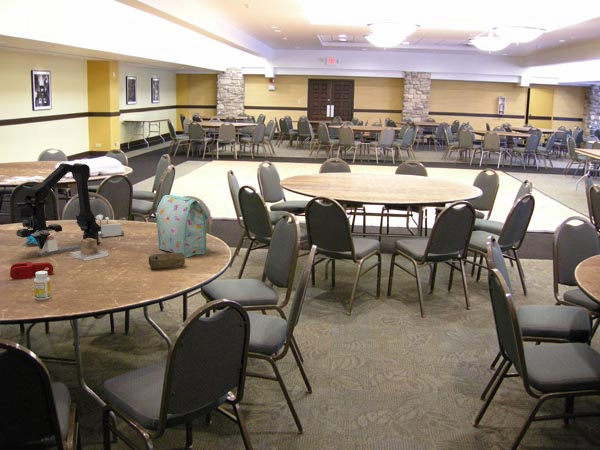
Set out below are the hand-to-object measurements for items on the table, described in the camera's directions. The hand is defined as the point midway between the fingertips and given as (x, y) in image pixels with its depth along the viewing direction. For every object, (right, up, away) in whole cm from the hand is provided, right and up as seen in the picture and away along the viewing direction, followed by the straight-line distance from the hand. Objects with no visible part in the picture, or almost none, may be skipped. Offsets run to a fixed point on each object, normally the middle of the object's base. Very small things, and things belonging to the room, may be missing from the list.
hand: (41, 248), depth 274 cm
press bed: (+21, -3, +1) cm, 22 cm away
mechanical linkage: (+9, -10, -30) cm, 33 cm away
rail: (+6, -1, +7) cm, 9 cm away
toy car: (+16, +6, +44) cm, 47 cm away
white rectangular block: (+3, -1, +4) cm, 5 cm away
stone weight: (+60, -8, -14) cm, 63 cm away
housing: (+22, -2, +1) cm, 22 cm away
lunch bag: (+62, -2, +13) cm, 63 cm away
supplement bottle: (+25, -16, -55) cm, 63 cm away
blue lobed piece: (-12, +1, +19) cm, 22 cm away
